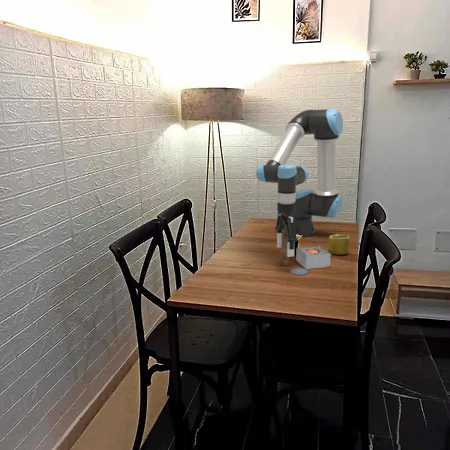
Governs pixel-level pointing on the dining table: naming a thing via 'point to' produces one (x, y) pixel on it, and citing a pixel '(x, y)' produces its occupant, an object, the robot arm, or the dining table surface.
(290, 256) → the robot arm
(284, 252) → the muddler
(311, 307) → the dining table surface
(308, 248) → the grey square block
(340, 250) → the mug
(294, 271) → the coaster
